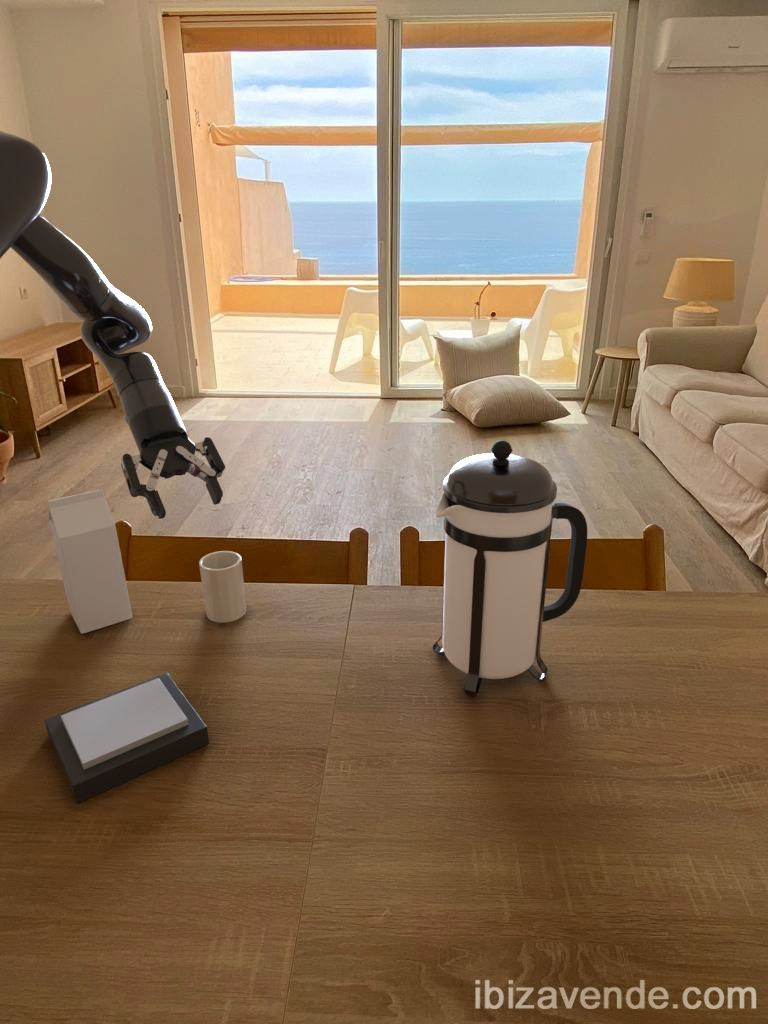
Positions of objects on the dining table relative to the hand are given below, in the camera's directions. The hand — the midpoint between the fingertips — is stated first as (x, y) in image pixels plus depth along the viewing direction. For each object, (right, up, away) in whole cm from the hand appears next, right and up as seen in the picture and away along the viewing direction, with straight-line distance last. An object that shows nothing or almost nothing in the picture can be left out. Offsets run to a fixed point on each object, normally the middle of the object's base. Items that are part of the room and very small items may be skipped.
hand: (191, 509), depth 102 cm
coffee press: (+43, -20, -13) cm, 49 cm away
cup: (+5, -15, -1) cm, 16 cm away
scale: (0, -26, -25) cm, 36 cm away
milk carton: (-13, -16, -2) cm, 20 cm away
